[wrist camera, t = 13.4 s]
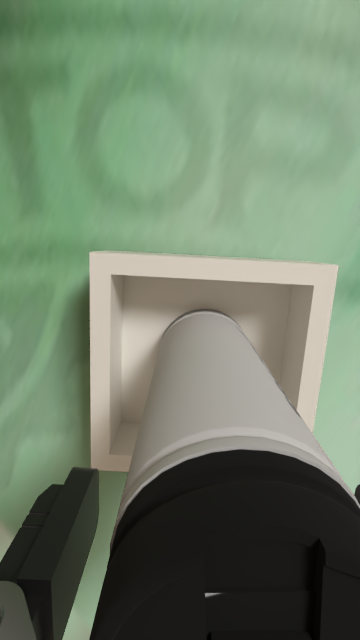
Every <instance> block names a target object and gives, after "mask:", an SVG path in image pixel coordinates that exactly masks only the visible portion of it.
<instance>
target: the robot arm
mask: <svg viewBox="0 0 360 640" xmlns="http://www.w3.org/2000/svg"><path fill="white" fill-rule="evenodd" d="M354 496H355V497H356V499H357V501H358V503H359V505H360V485H358V486H357V488H356V491H355V495H354ZM98 514H99V473H98V469H97V468H80V467H73V468H72V470H71V471H70V473H69V475H68V477H67V479H66V481H65V483H64V485H57V484H52V485H51V486H50V487H49V488H48V489H47V490H45V491H44V492H43V493H42V494H41V495H40V496H38V498H37V500H36V502H35V503H34V505H33V507H32V508H31V510H30V513H29V515H27V517H26V519H25V521H24V522H23V524H22V528H20V529H19V531H18V533H17V534H16V536H15V538H14V540H13V541H12V543H11V545H10V547H9V548H8V550H7V552H6V554H5V555H4V557H3V559H2V560H1V562H0V640H62V638H63V635H64V632H65V629H66V625H67V622H68V619H69V616H70V613H71V609H72V606H73V603H74V600H75V596H76V593H77V590H78V587H79V584H80V580H81V577H82V574H83V571H84V568H85V564H86V561H87V558H88V555H89V552H90V548H91V545H92V542H93V539H94V536H95V532H96V528H97V522H98Z"/></svg>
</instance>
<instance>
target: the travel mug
mask: <svg viewBox="0 0 360 640" xmlns="http://www.w3.org/2000/svg"><path fill="white" fill-rule="evenodd" d="M90 640H360V505H359V503H358V501H357V499H356V497H355V496H354V494H353V493H352V491H351V490H350V488H349V487H348V486H347V485H346V484H345V483H344V481H343V479H342V477H341V476H340V474H339V472H338V471H337V469H336V468H335V466H334V465H333V463H332V462H331V460H330V459H329V457H328V456H327V454H326V453H325V451H324V450H323V449H322V447H321V446H320V444H319V443H318V441H317V440H316V438H315V437H314V435H313V434H312V432H311V431H310V429H309V428H308V426H307V425H306V423H305V422H304V420H303V419H302V417H301V416H300V414H299V413H298V412H297V410H296V409H295V407H294V406H293V404H292V403H291V401H290V400H289V398H288V397H287V395H286V394H285V392H284V391H283V389H282V388H281V386H280V385H279V383H278V382H277V380H276V379H275V377H274V376H273V375H272V373H271V372H270V370H269V369H268V367H267V366H266V364H265V363H264V361H263V360H262V358H261V357H260V355H259V354H258V352H257V351H256V349H255V348H254V346H253V345H252V343H251V342H250V341H249V339H248V338H247V336H246V335H245V333H244V332H243V330H242V329H241V327H240V326H239V325H238V324H237V323H236V321H235V320H233V319H232V318H231V317H229V316H228V315H226V314H224V313H222V312H220V311H216V310H212V309H197V310H192V311H189V312H186V313H184V314H182V315H181V316H179V317H177V318H176V319H175V320H174V321H173V322H172V323H171V324H170V325H169V326H168V328H167V329H166V331H165V333H164V335H163V337H162V340H161V344H160V348H159V352H158V356H157V360H156V364H155V368H154V372H153V376H152V380H151V384H150V388H149V392H148V396H147V400H146V404H145V408H144V412H143V416H142V420H141V424H140V428H139V432H138V436H137V440H136V444H135V448H134V452H133V456H132V460H131V464H130V468H129V472H128V475H127V479H126V483H125V487H124V491H123V495H122V499H121V503H120V507H119V511H118V515H117V520H116V523H115V527H114V531H113V535H112V539H111V543H110V557H109V561H108V565H107V571H106V575H105V578H104V582H103V586H102V590H101V594H100V598H99V602H98V606H97V610H96V615H95V619H94V623H93V627H92V631H91V635H90Z"/></svg>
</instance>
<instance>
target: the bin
mask: <svg viewBox="0 0 360 640" xmlns="http://www.w3.org/2000/svg"><path fill="white" fill-rule="evenodd" d="M338 266H339V265H333V264H326V263H319V262H312V261H301V260H282V259H264V258H245V257H226V256H208V255H189V254H171V253H152V252H133V251H115V250H106V251H94V252H90V394H91V468H97V469H98V470H103V471H120V472H129V468H130V464H131V460H132V456H133V452H134V448H135V444H136V440H137V436H138V432H139V428H140V424H141V420H142V416H143V412H144V408H145V404H146V400H147V396H148V392H149V388H150V384H151V380H152V376H153V372H154V368H155V364H156V360H157V356H158V352H159V348H160V344H161V340H162V337H163V335H164V333H165V331H166V329H167V328H168V326H169V325H170V324H171V323H172V322H173V321H174V320H175V319H176V318H177V317H179V316H181V315H182V314H184V313H186V312H189V311H192V310H197V309H212V310H216V311H220V312H222V313H224V314H226V315H228V316H229V317H231V318H232V319H233V320H235V321H236V323H237V324H238V325H239V326H240V327H241V329H242V330H243V332H244V333H245V335H246V336H247V338H248V339H249V341H250V342H251V343H252V345H253V346H254V348H255V349H256V351H257V352H258V354H259V355H260V357H261V358H262V360H263V361H264V363H265V364H266V366H267V367H268V369H269V370H270V372H271V373H272V375H273V376H274V377H275V379H276V380H277V382H278V383H279V385H280V386H281V388H282V389H283V391H284V392H285V394H286V395H287V397H288V398H289V400H290V401H291V403H292V404H293V406H294V407H295V409H296V410H297V412H298V413H299V414H300V416H301V417H302V419H303V420H304V422H305V423H306V425H307V426H308V428H309V429H310V431H311V432H312V434H313V428H314V422H315V415H316V409H317V402H318V396H319V389H320V383H321V376H322V370H323V363H324V357H325V350H326V344H327V337H328V331H329V324H330V318H331V311H332V305H333V299H334V292H335V286H336V279H337V273H338Z"/></svg>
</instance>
